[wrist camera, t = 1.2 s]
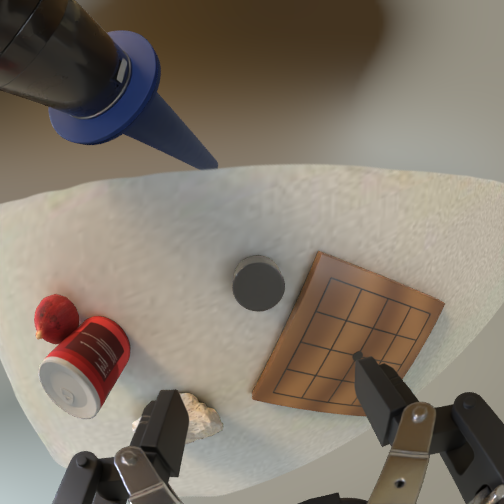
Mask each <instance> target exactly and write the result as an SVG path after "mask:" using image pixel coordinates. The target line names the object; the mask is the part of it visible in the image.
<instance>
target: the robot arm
mask: <svg viewBox="0 0 504 504" xmlns="http://www.w3.org/2000/svg"><path fill="white" fill-rule="evenodd" d="M131 76H132V62H131V59H130V57H129V56H128V55H127V53H126V52H125V51H124V50H122V49H121V48H120V47H119V46H118V45H117V44H116V43H115V42H114V40H113V39H112V38H111V37H110V36H109V35H108V34H107V33H106V32H105V31H104V30H103V29H102V28H101V26H100V25H99V24H98V23H97V22H96V21H95V20H94V19H93V18H92V17H91V16H90V15H89V14H88V13H87V12H86V11H85V10H84V9H83V8H82V7H81V6H80V5H79V4H78V3H77V2H76V1H75V0H0V90H1V91H4V92H7V93H10V94H13V95H16V96H19V97H22V98H26V99H28V100H31V101H34V102H37V103H40V104H43V105H45V106H48V107H51V108H54V109H56V110H58V111H61V112H64V113H66V114H69V115H71V116H72V117H75V118H77V119H82V120H87V119H93V118H96V117H98V116H100V115H102V114H104V113H105V112H107V111H108V110H110V109H111V108H112V107H113V106H114V105H115V104H116V103H117V102H118V101H119V100H120V99H121V97H122V96H123V94H124V93H125V91H126V89H127V88H128V85H129V83H130V80H131ZM354 386H355V393H356V396H357V398H358V400H359V402H360V404H361V406H362V408H363V410H364V412H365V414H366V416H367V418H368V420H369V422H370V424H371V426H372V428H373V430H374V432H375V434H376V436H377V438H378V440H379V442H380V444H381V446H382V447H383V446H386V445H388V444H390V445H391V450H390V452H389V455H388V457H387V459H386V462H385V464H384V467H383V469H382V472H381V474H380V476H379V479H378V481H377V483H376V485H375V487H374V490H373V492H372V494H371V496H370V498H369V500H368V501H366V500H362V499H356V498H340V497H339V493H334V494H330V495H326V496H321V497H317V498H312V499H309V500H306V501H304V502H301V503H298V504H416V502H417V499H418V496H419V493H420V490H421V487H422V484H423V480H424V477H425V474H426V470H427V466H428V463H429V458H430V454H435V453H440V455H441V457H442V459H443V461H444V462H445V464H446V466H447V468H448V470H449V472H450V474H451V475H452V477H453V479H454V481H455V483H456V485H457V487H458V489H459V491H460V493H461V495H462V497H463V499H464V501H465V503H466V504H504V424H503V422H502V421H501V420H500V419H499V418H498V416H497V415H496V414H495V413H494V412H493V410H492V409H491V408H490V407H489V406H488V404H487V403H486V402H485V401H484V400H483V399H482V397H481V396H480V395H478V394H476V393H472V392H467V393H463V394H461V395H459V396H458V397H457V398H456V399H455V401H454V404H453V405H448V406H443V407H437V408H434V407H433V406H432V405H430V404H429V403H426V402H419V401H418V399H417V398H416V397H415V395H414V394H413V393H412V391H411V390H410V389H409V387H408V386H407V385H406V384H405V382H403V380H402V378H401V377H400V376H399V375H398V373H397V372H396V371H395V370H394V368H392V367H391V366H389V365H387V364H385V363H383V364H380V365H379V364H378V363H377V362H376V360H375V359H374V358H373V357H372V356H370V357H367V358H363V359H360V360H356V362H355V384H354ZM188 427H189V415H188V412H187V409H186V407H185V405H184V403H183V400H182V398H181V396H180V394H179V392H178V390H176V389H175V390H161V391H160V392H159V395H158V397H157V400H156V401H151V402H150V403H149V404H148V405H147V406H146V407H145V409H144V411H143V414H142V417H141V418H140V421H139V424H138V426H137V428H136V431H135V433H134V436H133V438H132V441H131V443H130V446H128V447H124V448H122V449H121V450H119V451H118V452H117V453H116V455H115V457H111V458H102V459H98V458H97V457H96V456H95V455H94V454H93V453H91V452H88V451H83V452H79V453H77V454H76V455H75V456H73V458H72V459H71V461H70V464H69V466H68V468H67V470H66V472H65V475H64V477H63V479H62V481H61V484H60V486H59V488H58V491H57V493H56V496H55V498H54V500H53V503H52V504H126V502H127V499H128V501H129V504H183V502H182V501H181V500H180V498H179V497H178V496H177V494H176V493H175V492H174V490H173V489H172V487H171V486H170V485H169V483H168V481H169V477H179V471H180V466H181V461H182V456H183V451H184V446H185V441H186V437H187V432H188ZM95 493H96V494H95ZM94 496H95V497H94Z"/></svg>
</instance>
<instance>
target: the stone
mask: <svg viewBox="0 0 504 504" xmlns="http://www.w3.org/2000/svg"><path fill="white" fill-rule="evenodd" d="M179 394H180V396H181V398H182V400H183V403H184V405H185V407H186V409H187V412H188V415H189V427H188V432H187V437H186V441H185V444H188V443H191V442H194V441H195V440H199V439H203V438H205V437H209V436H213V435H214V434H215V433H219V432H220V431H222V430H223V423H222V422H221V420H220V417H219V415H218V414H217V412H216V411H215V410H214V409H213V408H208V407H207V406H206V404H205V403H199V402H198V399H197V398H196V397H195V396H194V395H192V394H189V393H182V394H181V393H179ZM140 418H141V417H140ZM140 418H139V419H138V420H137V421H134V422H133V424H132V425H133V432H134V433H135V431H136V428H137V426H138V424H139V421H140Z"/></svg>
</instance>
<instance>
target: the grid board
mask: <svg viewBox="0 0 504 504" xmlns="http://www.w3.org/2000/svg"><path fill="white" fill-rule="evenodd" d="M444 305H445V303H444V302H442V301H440V300H439V299H436V298H434V297H432V296H429V295H427V294H424V293H422V292H420V291H417V290H415V289H413V288H410V287H408V286H405V285H403V284H401V283H398V282H396V281H393V280H391V279H388V278H386V277H383V276H381V275H379V274H376V273H374V272H371V271H369V270H366V269H364V268H361V267H359V266H356V265H354V264H351V263H348V262H346V261H343V260H341V259H338V258H336V257H333V256H331V255H328V254H326V253H323V252H320V251H318V253H317V255H316V258H315V260H314V262H313V265H312V267H311V269H310V272H309V274H308V276H307V279H306V281H305V283H304V286H303V288H302V290H301V292H300V295H299V297H298V299H297V301H296V304H295V306H294V308H293V310H292V312H291V315H290V317H289V319H288V321H287V323H286V325H285V327H284V330H283V332H282V334H281V336H280V338H279V340H278V342H277V344H276V346H275V348H274V350H273V352H272V354H271V356H270V358H269V360H268V362H267V364H266V366H265V368H264V370H263V372H262V374H261V376H260V378H259V380H258V382H257V384H256V386H255V388H254V390H253V392H252V399H253V400H257V401H262V402H266V403H271V404H276V405H281V406H287V407H292V408H298V409H304V410H311V411H318V412H326V413H334V414H343V415H354V416H366V414H365V412H364V410H363V408H362V406H361V404H360V402H359V400H358V398H357V396H356V393H355V386H354V384H355V362H356V360H360V359H363V358H367V357H370V356H372V357H373V358H374V359H375V360H376V362H377V363H378V364H379V365H380V364H383V363H385V364H387V365H389V366H391V367H392V368H394V370H395V371H396V372H397V373H398V375H399V376H400V377H401V378H402V379H403V377H404V376H405V374H406V373H407V371H408V370H409V368H410V367H411V365H412V364H413V362H414V360H415V359H416V357H417V355H418V354H419V352H420V350H421V349H422V347H423V345H424V343H425V342H426V340H427V338H428V336H429V335H430V333H431V331H432V329H433V327H434V325H435V323H436V321H437V319H438V317H439V315H440V313H441V311H442V309H443V307H444Z"/></svg>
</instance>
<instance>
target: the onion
mask: <svg viewBox="0 0 504 504" xmlns="http://www.w3.org/2000/svg"><path fill="white" fill-rule="evenodd" d="M34 322H35V327H36V330H37V333H36V338H37V339H42V338H43V339H44V340H45V341H47V342H50V343H53V344H60V343H61V342H62V341H63V340H64V339H65V338H66V337H68V336H69V335H70V334H71V333H72V332H73V331H75V330H76V329H77V328H78V327H79V315H78V312H77V309H76V307H75V306H74V304H73V303H72V302H71V301H70V300H69V299H68V298H67V297H64V296H61V295H57V294H54V295H51V296H48V297H45V298H44V299H43V300H42V301H41V302H40V304H39V305H38V307H37V309H36V311H35V319H34Z"/></svg>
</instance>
